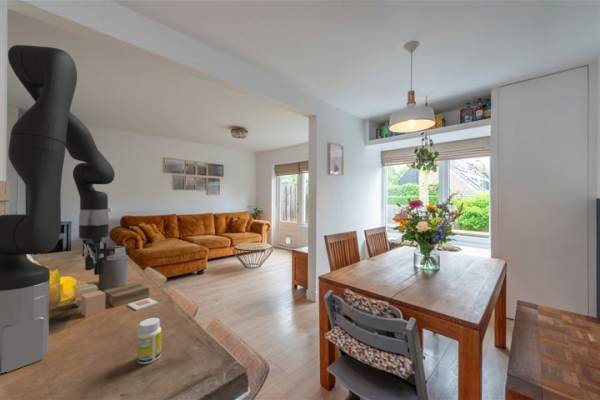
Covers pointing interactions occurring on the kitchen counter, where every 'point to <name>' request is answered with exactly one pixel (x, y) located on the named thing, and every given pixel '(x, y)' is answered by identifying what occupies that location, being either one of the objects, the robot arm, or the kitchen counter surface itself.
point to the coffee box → (117, 250)
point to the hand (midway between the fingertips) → (93, 272)
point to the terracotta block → (92, 303)
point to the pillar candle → (114, 272)
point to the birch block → (86, 291)
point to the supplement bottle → (149, 341)
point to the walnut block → (126, 294)
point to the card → (142, 304)
